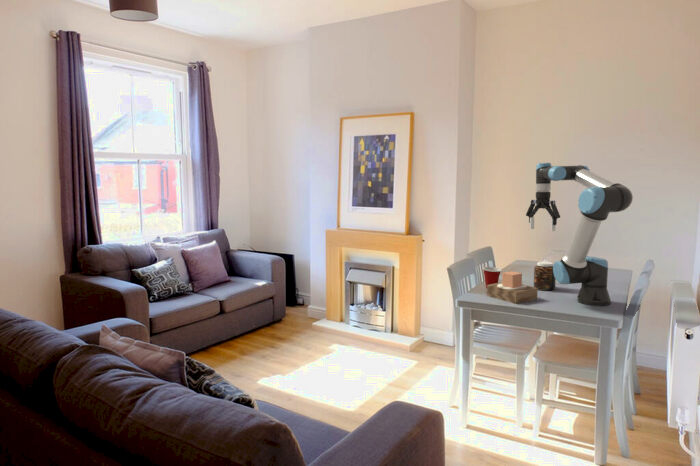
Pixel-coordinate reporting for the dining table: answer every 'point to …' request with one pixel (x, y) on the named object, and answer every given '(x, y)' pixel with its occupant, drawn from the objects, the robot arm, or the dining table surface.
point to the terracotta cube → (512, 279)
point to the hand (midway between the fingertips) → (542, 230)
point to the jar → (544, 276)
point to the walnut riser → (512, 293)
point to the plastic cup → (491, 275)
